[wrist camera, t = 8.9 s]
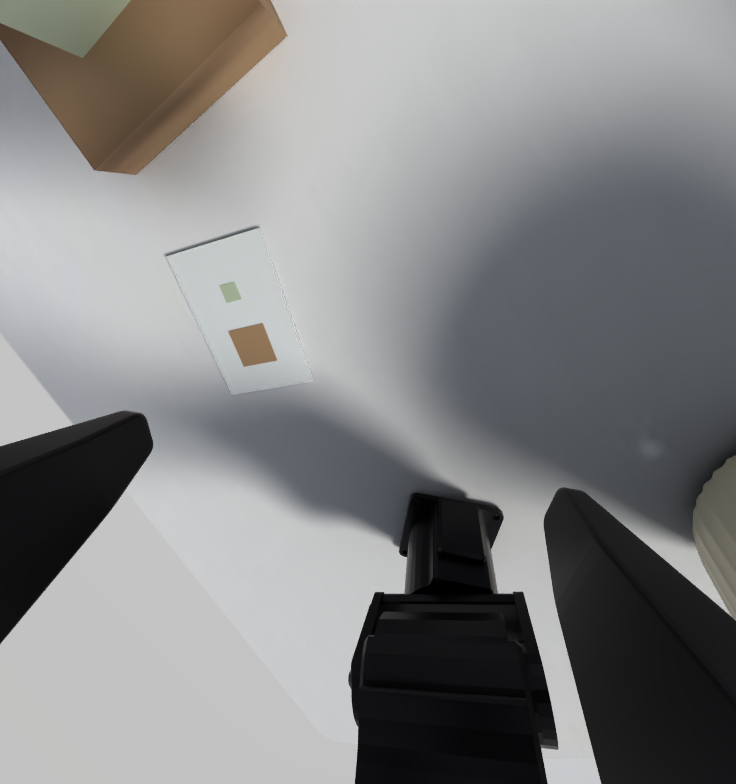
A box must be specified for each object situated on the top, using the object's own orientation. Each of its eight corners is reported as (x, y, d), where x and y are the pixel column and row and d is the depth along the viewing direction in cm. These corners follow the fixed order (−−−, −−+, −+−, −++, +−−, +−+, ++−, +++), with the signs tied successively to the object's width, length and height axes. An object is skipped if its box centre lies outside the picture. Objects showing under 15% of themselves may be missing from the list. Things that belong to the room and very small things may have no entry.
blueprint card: (313, 380, 22) (312, 381, 22) (232, 394, 23) (231, 395, 23) (259, 227, 18) (257, 227, 18) (167, 256, 20) (165, 256, 19)
